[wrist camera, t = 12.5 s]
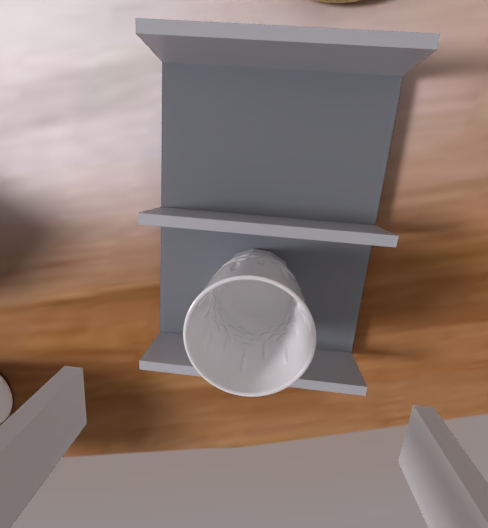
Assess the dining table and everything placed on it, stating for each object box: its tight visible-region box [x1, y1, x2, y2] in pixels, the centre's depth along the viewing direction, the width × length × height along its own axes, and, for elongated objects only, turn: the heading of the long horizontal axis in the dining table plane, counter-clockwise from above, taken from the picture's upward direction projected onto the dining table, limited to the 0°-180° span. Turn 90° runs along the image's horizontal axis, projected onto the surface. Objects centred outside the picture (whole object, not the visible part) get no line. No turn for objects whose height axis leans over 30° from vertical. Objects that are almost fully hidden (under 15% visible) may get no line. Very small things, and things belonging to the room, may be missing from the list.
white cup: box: [183, 249, 316, 397], centre depth 24 cm, size 8×8×10 cm
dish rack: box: [136, 18, 440, 396], centre depth 25 cm, size 24×18×6 cm
